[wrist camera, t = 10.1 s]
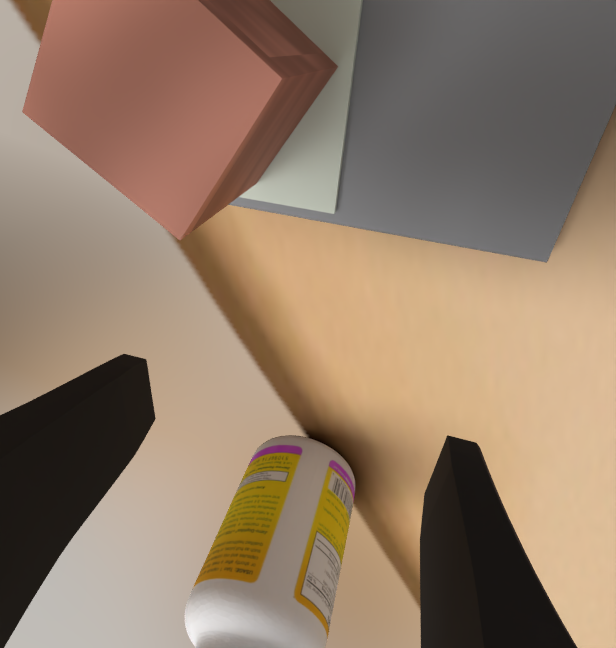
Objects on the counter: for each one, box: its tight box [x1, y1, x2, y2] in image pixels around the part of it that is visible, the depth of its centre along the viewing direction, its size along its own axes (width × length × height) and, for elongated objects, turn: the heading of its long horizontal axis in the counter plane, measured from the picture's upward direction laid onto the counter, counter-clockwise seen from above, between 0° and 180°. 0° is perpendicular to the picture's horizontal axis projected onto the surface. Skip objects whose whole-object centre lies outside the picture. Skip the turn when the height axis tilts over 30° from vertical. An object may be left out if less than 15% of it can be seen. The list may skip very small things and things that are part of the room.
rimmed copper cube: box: [23, 0, 338, 240], centre depth 13 cm, size 5×5×6 cm
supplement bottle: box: [185, 436, 355, 648], centre depth 22 cm, size 7×7×13 cm
